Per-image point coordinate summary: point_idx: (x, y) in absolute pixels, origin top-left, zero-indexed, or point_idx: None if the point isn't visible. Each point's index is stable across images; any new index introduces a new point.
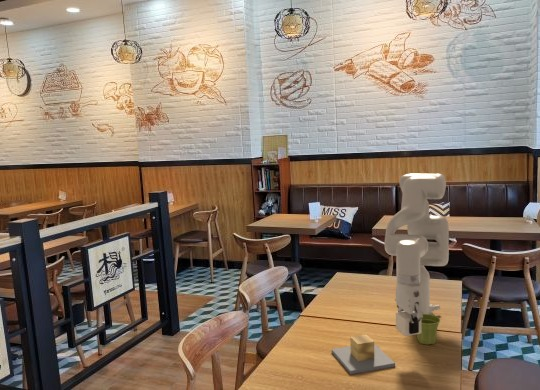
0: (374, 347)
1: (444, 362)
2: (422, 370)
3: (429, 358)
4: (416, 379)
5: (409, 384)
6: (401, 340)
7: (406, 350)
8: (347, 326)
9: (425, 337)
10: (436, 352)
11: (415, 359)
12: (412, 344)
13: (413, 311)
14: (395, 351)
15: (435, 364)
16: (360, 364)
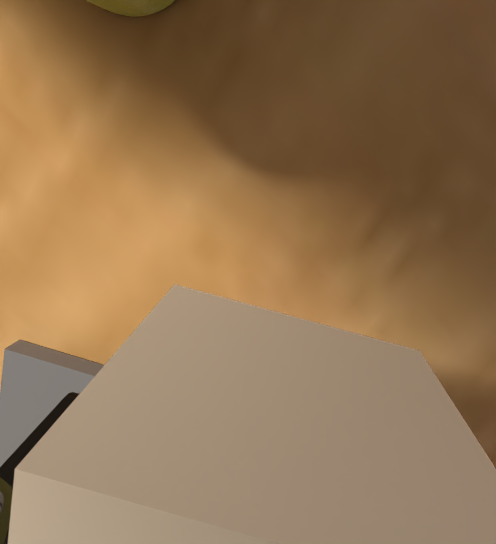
0: (67, 389)
1: (471, 114)
2: (438, 334)
3: (356, 162)
4: (485, 441)
5: None
6: (33, 116)
7: (175, 208)
8: None
9: None
10: (323, 31)
11: (306, 258)
12: (123, 94)
13: (175, 542)
14: (149, 281)
15: (444, 198)
16: None
